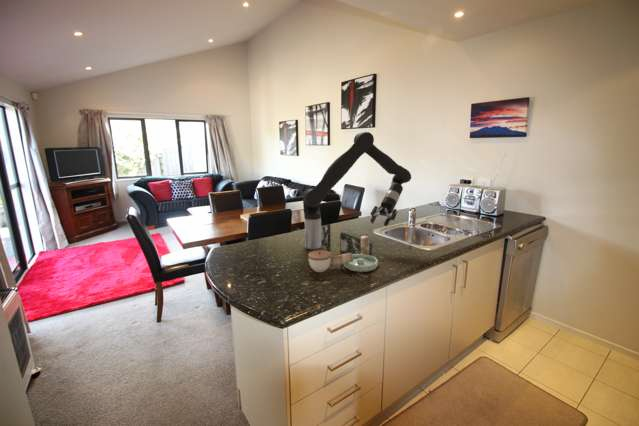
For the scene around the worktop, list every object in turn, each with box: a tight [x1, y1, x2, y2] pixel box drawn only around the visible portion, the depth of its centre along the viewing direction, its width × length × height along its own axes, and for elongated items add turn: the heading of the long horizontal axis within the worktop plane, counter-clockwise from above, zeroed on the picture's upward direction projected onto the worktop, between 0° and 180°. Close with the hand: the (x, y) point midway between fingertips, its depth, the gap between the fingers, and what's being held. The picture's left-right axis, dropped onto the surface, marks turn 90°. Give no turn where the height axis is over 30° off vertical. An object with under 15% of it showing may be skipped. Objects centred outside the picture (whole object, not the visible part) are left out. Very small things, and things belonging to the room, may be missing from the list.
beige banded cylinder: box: [330, 251, 353, 267], centre depth 143 cm, size 4×4×10 cm
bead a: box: [360, 235, 370, 255], centre depth 158 cm, size 4×4×10 cm
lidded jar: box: [307, 249, 332, 273], centre depth 142 cm, size 11×11×9 cm
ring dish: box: [343, 253, 379, 273], centre depth 147 cm, size 16×16×3 cm
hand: (378, 224), depth 164 cm, fingers open, 8 cm apart
